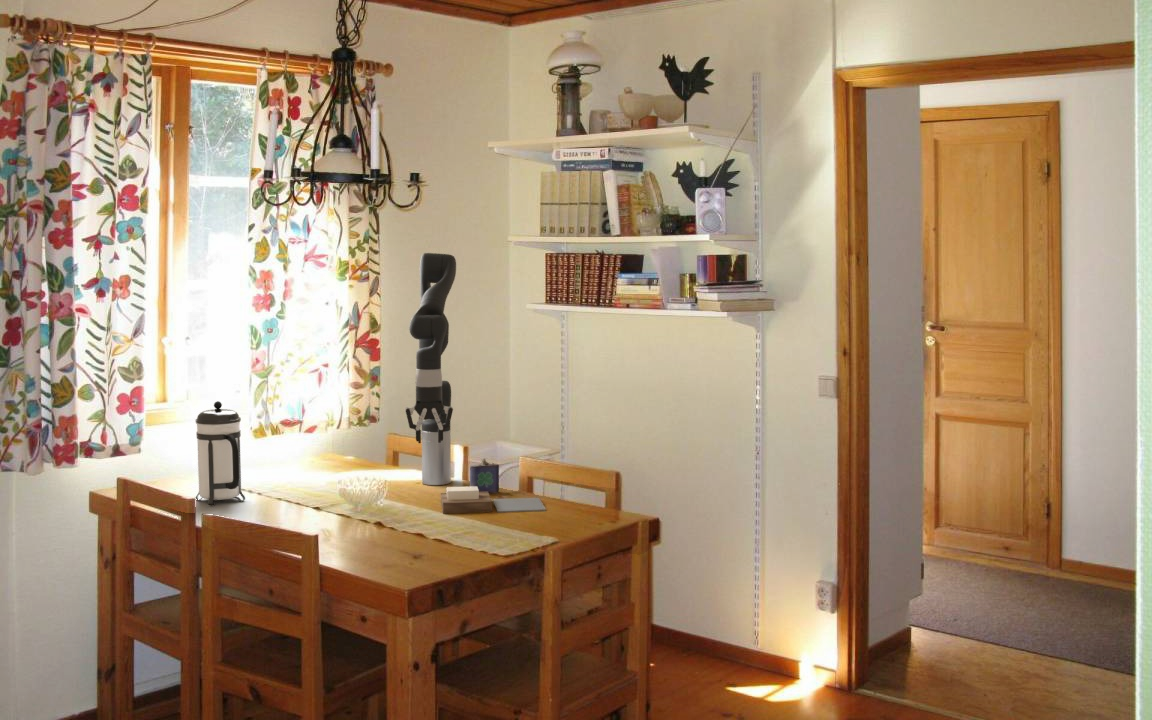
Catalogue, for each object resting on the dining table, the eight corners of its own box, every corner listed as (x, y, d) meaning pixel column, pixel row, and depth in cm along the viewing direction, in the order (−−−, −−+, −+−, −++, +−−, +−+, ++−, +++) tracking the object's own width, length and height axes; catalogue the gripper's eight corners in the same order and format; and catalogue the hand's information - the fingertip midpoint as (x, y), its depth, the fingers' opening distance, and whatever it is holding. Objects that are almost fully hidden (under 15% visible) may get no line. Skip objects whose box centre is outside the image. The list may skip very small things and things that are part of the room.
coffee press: (182, 506, 322) (179, 404, 319) (209, 494, 338) (206, 397, 335) (238, 508, 319) (235, 405, 317) (262, 496, 335) (260, 399, 332)
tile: (446, 495, 323) (446, 487, 323) (477, 494, 325) (477, 486, 325) (447, 499, 318) (447, 491, 317) (478, 498, 319) (478, 490, 319)
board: (440, 502, 327) (440, 492, 327) (487, 501, 330) (487, 491, 329) (443, 513, 314) (443, 503, 313) (492, 511, 316) (492, 501, 316)
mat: (492, 500, 331) (492, 499, 331) (538, 498, 333) (538, 497, 333) (497, 512, 315) (497, 511, 315) (546, 510, 318) (546, 509, 317)
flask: (470, 495, 339) (470, 460, 338) (468, 493, 341) (468, 459, 341) (500, 493, 342) (499, 459, 341) (497, 491, 344) (497, 457, 343)
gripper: (453, 382, 322) (453, 440, 323) (403, 383, 319) (404, 441, 321) (454, 385, 314) (455, 444, 316) (403, 386, 312) (404, 445, 313)
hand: (429, 442), depth 318 cm, fingers open, 5 cm apart
